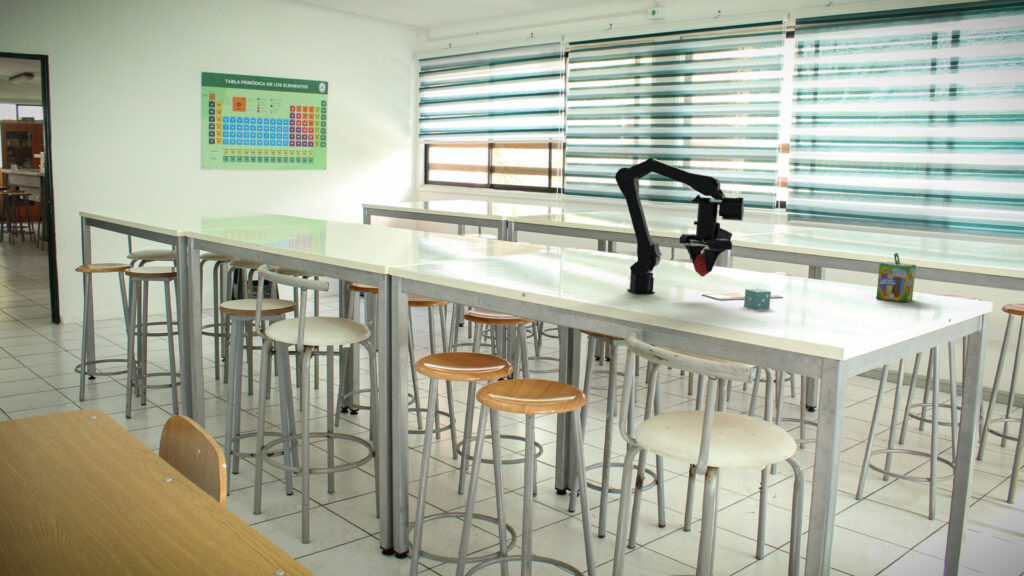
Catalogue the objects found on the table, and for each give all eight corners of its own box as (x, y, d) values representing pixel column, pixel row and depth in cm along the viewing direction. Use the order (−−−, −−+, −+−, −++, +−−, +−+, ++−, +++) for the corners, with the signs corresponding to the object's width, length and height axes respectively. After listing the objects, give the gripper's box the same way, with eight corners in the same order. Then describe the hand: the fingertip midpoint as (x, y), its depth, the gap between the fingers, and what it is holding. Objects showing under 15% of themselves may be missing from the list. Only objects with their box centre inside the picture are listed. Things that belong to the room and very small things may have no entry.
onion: (712, 278, 236) (715, 252, 235) (692, 277, 237) (695, 250, 236) (711, 275, 242) (714, 249, 240) (692, 274, 243) (694, 248, 241)
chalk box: (906, 303, 247) (911, 256, 245) (875, 299, 253) (880, 253, 250) (913, 299, 254) (918, 254, 252) (882, 296, 260) (888, 251, 257)
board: (720, 300, 238) (720, 299, 238) (702, 295, 246) (702, 294, 246) (782, 297, 247) (782, 296, 247) (763, 293, 256) (763, 291, 256)
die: (755, 309, 226) (756, 292, 225) (743, 306, 230) (745, 289, 230) (769, 308, 228) (771, 291, 227) (757, 305, 232) (759, 288, 232)
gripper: (749, 221, 231) (744, 274, 234) (709, 216, 248) (705, 265, 251) (718, 221, 227) (713, 275, 229) (680, 216, 244) (676, 266, 246)
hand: (702, 270), depth 239 cm, fingers closed on onion, 6 cm apart
